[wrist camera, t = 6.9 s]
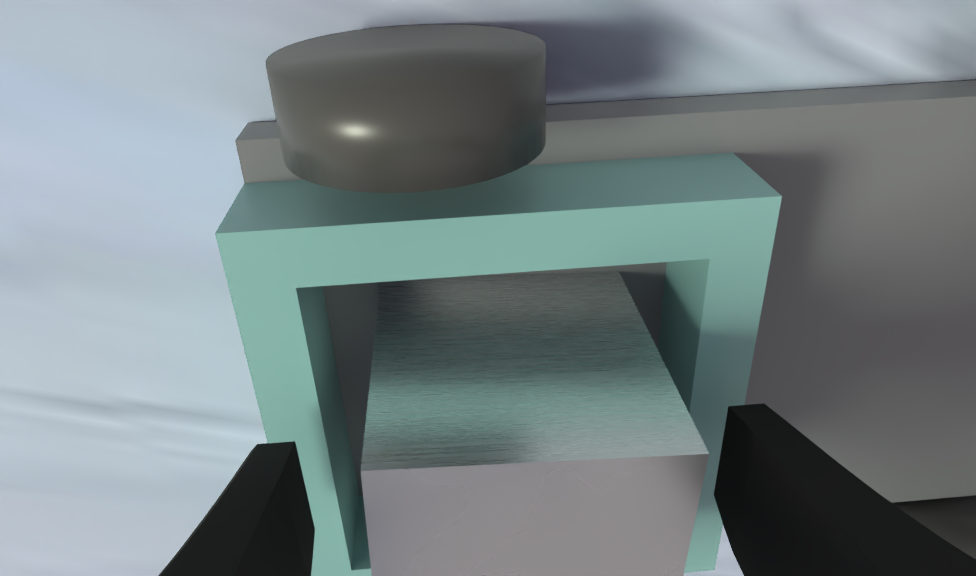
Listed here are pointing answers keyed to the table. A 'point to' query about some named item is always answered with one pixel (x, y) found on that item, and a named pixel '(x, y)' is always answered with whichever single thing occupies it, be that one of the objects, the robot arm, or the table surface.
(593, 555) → the block
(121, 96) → the table surface
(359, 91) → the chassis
